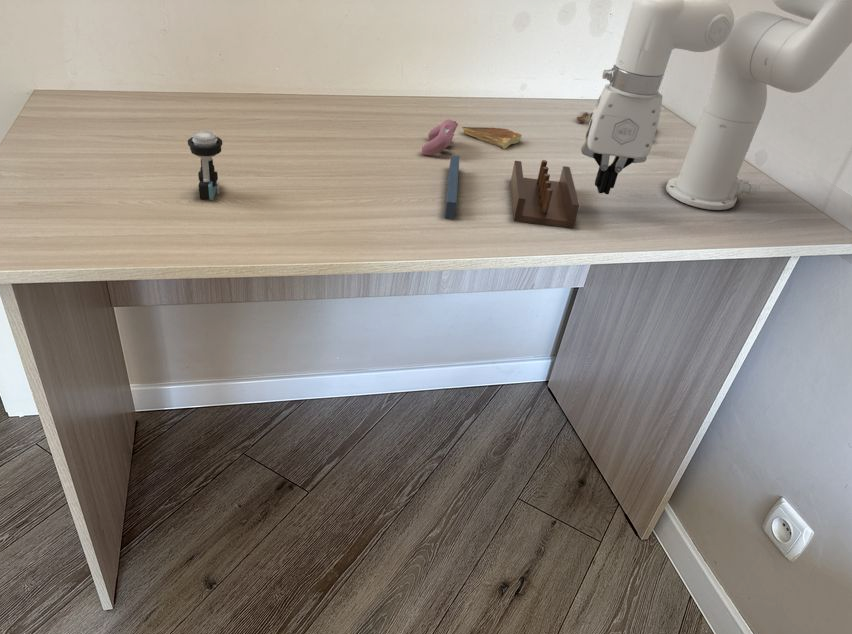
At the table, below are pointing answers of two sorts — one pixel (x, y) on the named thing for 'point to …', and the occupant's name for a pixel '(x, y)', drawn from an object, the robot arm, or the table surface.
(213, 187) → the push button
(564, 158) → the table surface
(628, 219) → the table surface
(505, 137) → the golden brown flat wedge
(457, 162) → the bar
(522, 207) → the rack
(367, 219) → the table surface
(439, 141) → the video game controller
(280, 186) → the table surface
